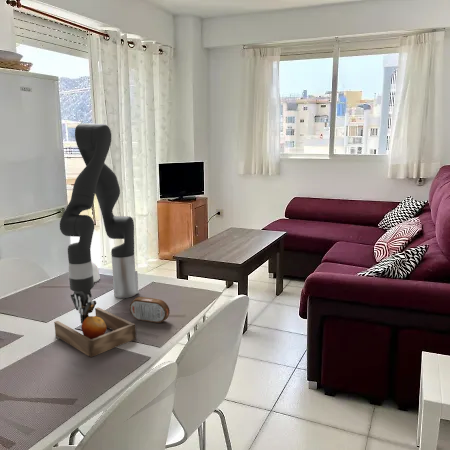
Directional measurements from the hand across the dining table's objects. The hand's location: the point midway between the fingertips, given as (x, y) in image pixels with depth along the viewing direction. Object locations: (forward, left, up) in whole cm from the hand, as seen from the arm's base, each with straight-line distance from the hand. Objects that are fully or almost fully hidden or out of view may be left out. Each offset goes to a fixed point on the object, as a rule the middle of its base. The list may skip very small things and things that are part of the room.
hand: (85, 323), depth 146 cm
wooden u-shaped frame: (0, +6, -3) cm, 7 cm away
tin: (-20, +9, -3) cm, 22 cm away
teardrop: (-30, -50, -4) cm, 59 cm away
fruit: (0, +6, -3) cm, 7 cm away
